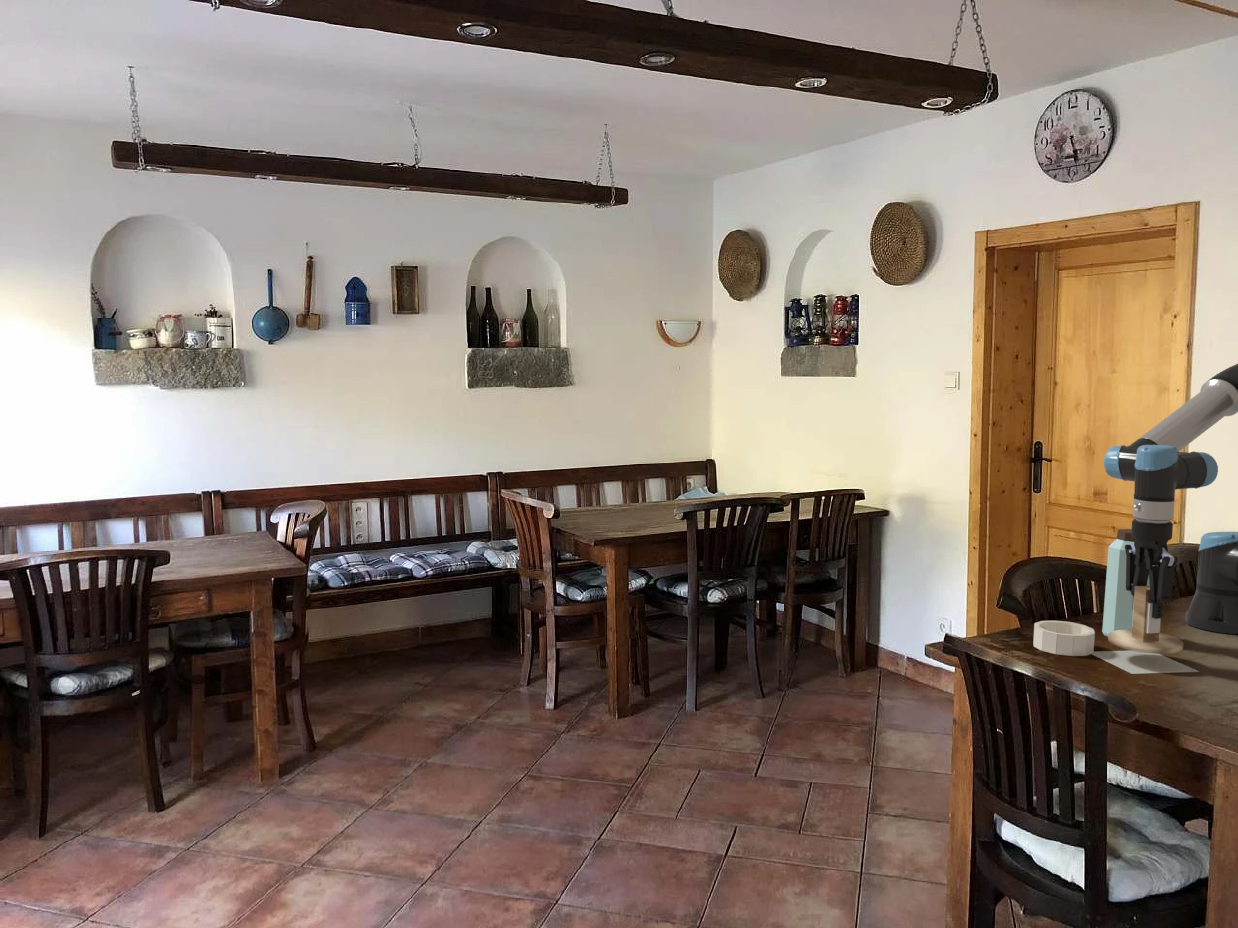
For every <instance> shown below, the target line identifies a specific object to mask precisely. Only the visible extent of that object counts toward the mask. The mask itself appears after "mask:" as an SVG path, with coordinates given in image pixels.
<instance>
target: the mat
mask: <svg viewBox="0 0 1238 928" xmlns="http://www.w3.org/2000/svg"><path fill="white" fill-rule="evenodd" d="M1091 655H1092V656H1094V657H1096V658H1098V659H1101V660H1103V661H1105V662H1107V663H1109V664H1111V665H1113V666H1115V667H1117V668H1119V669H1121V670H1122V671H1126V672H1127V673H1129V674H1132V675H1138V674H1139V675H1140V674H1141V675H1142V674H1143V675H1144V674H1171V673H1174V674H1175V673H1199V672H1200V671H1199V670H1196V669H1195V668H1192V667H1190V666H1188V665H1186V664H1183V663H1181V662H1179V661H1176V660H1174V659H1171V658H1169V657H1167V656H1165V655H1164V654H1153V653H1143V652H1137V651H1132V650H1107V651H1106V650H1102V651H1094V653H1092V654H1091Z"/></svg>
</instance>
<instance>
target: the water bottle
mask: <svg viewBox="0 0 1238 928" xmlns="http://www.w3.org/2000/svg"><path fill="white" fill-rule="evenodd" d="M1131 531H1132V528H1120V529H1117V532H1116V539H1114V541H1113V542H1112V543H1111V544H1109V545H1108V546H1107V547H1108V550H1107V561H1106V563H1107V564H1106V574H1105V575H1106V576H1105V578H1106V579H1105V589H1104V590H1105V592H1104V602H1103V605H1104V606H1103V616H1102V617H1103V619H1102V629H1101V632H1102V634H1103V635H1104V636H1105V637H1108V634H1109V633H1110V632H1112V631H1116V630H1132V619H1133V609H1132V605H1133V604H1132V603H1133V596H1132V594H1131V592H1130V591H1127V590H1126V551H1125V545H1132V544H1134V542H1135V539H1136V538H1134V537H1132V535H1131ZM1152 566H1156V565H1152ZM1131 585H1133V584H1131ZM1147 586H1150V583H1149V576H1148V581H1147Z"/></svg>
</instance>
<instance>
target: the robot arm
mask: <svg viewBox="0 0 1238 928" xmlns="http://www.w3.org/2000/svg"><path fill="white" fill-rule="evenodd" d="M1237 413H1238V363H1235V364H1234V365H1232V366H1229V367H1227V368H1225V369H1224V370H1222V371H1220V372H1219V373H1216V374H1215V375H1214V376H1212V377H1211V378H1210V379H1208V380H1207V381H1206V382H1204V383H1203V384H1202V385H1201V387H1200V391H1199V392H1198V393H1197V394H1195V395H1194V396H1192V398H1190V399H1189V400H1188V401H1186V402H1185V403H1184V404H1183V405H1181V406H1180V407H1178V408H1177V409H1175V410H1174V411H1173V412H1172V413H1170V414H1169V415H1168V416H1167V417H1165V418H1164V419H1162V420H1161V421H1160V422H1159V423H1157V424H1156V425H1155V426H1153V427H1152V428H1151V429H1149V430H1148V431H1147V432H1146V433H1144V434H1143V435H1141V436H1140V437H1139V438H1138V439H1136V440H1135V441H1134V442H1132V443H1131V444H1129V445H1125V444H1121V445H1114V446H1110V448H1108V450H1107V451H1106V453H1105V455H1104V458H1103V467H1104V470H1105V473H1106V474H1107V475H1108V476H1109V477H1110V478H1113V479H1117V480H1122V481H1125V482H1126V481H1129V482H1134V487H1133V488H1134V493H1133V507H1132V517H1133V518H1134V519H1132V520H1131V529H1132V531H1131V535H1132V537H1134V538H1136V539H1135V542H1134V544H1132V545H1125V551H1126V590H1127V591H1130V592H1131V594H1132V596H1133V603H1132V604H1133V605H1132V609H1133V608H1134V591H1135V586H1147V581H1148V576H1149V583H1150V599H1151V600H1147V618H1146V633H1161V621H1162V617H1163V605H1164V603H1170V602H1172V599H1173V598H1172V597H1173V589H1174V588H1173V587H1174V580H1175V579H1174V577H1175V568H1176V565H1177V563H1178V556H1177V555H1172V554H1171V553H1169V547H1168V542H1169V541H1171V539H1173V528H1174V524H1173V522H1172V520H1173V519H1175V518H1174V517H1175V496H1176V490H1187V489H1201V488H1203V487H1208V486H1210V485H1212V484H1213V482H1214V481H1216V479H1217V477H1218V472H1219V466H1218V463H1217V461H1216V459H1215V457H1213V456H1212V455H1211V454H1209V453H1207V452H1202V451H1201V452H1200V451H1195V450H1194V451H1190V452H1184V451H1182V450H1183V449H1184V448H1186V447H1187V446H1188V445H1189V444H1190V443H1192V442H1193V441H1194V440H1196V439H1197V438H1199V437H1200V436H1201V435H1202V434H1204V433H1205V432H1206V431H1208V430H1209V429H1210V428H1212V427H1213V426H1214V425H1216V424H1217V423H1218V422H1220V420H1222V419H1223V418H1225V417H1232V416H1234V415H1236V414H1237ZM1152 565H1155V566H1152ZM1196 573H1197V575H1196V589H1195V593H1194V595H1193V597H1192V600H1191V603H1189V604H1190V605H1189V608H1188V609H1187V610H1186V612H1185V623H1186V624H1188V626H1191V627H1193V628H1197V629H1201V630H1205V631H1209V632H1210V631H1211V632H1214V633H1219V634H1220V633H1221V634H1230V635H1238V531H1212V532H1206V533H1204V534H1203V535H1202V536H1201V538H1200V542H1199V548H1198V562H1197V572H1196ZM1131 584H1133V585H1131ZM1156 596H1157V597H1156ZM1132 625H1133V619H1132Z"/></svg>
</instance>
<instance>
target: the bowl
mask: <svg viewBox="0 0 1238 928" xmlns="http://www.w3.org/2000/svg"><path fill="white" fill-rule="evenodd" d="M1095 635H1096V632H1095V629H1094V628H1093V627H1090V626H1087V625H1085V624H1081V623H1077V622H1072V621H1065V620H1063V621H1062V620H1040V621H1038V622H1037V621H1036V622H1034V625H1033V647H1034V648H1036V649H1038V650H1039V651H1042V652H1046V653H1050V654H1053V655H1058V656H1059V655H1060V656H1069V657H1087V656H1089V655H1092V653H1094V652H1095V651H1094V650H1095V637H1096V636H1095Z"/></svg>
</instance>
